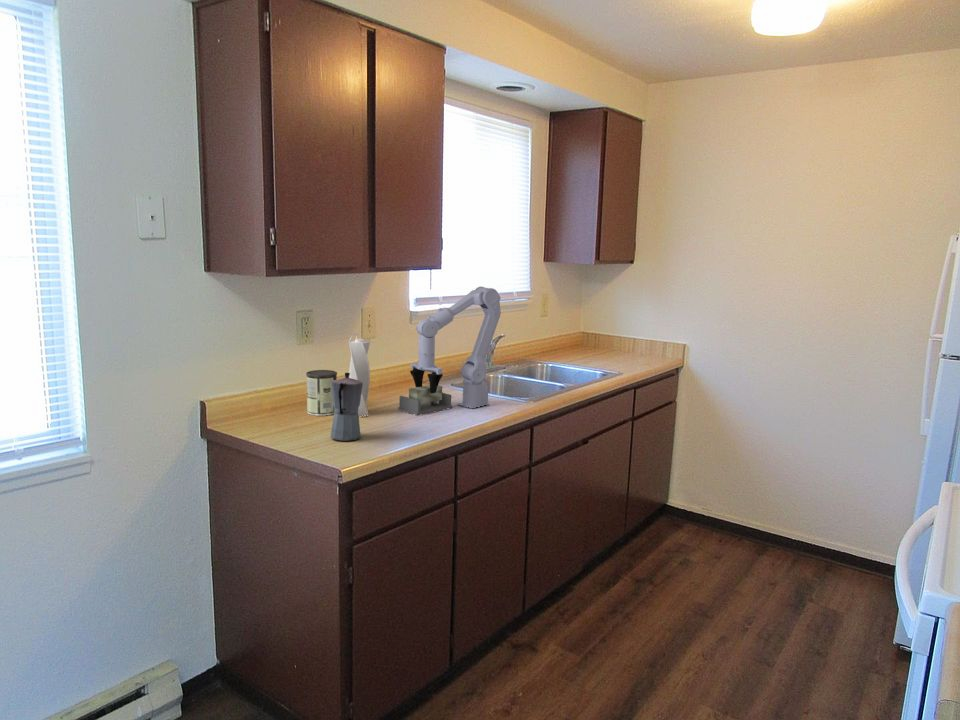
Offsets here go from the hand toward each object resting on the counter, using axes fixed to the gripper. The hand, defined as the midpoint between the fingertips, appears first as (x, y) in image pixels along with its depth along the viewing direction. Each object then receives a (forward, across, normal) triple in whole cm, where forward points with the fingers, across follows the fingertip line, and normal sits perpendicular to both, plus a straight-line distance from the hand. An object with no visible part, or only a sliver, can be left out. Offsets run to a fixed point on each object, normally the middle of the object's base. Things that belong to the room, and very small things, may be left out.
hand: (426, 391), depth 239 cm
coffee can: (+7, -19, -31) cm, 37 cm away
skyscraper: (+7, -9, -23) cm, 26 cm away
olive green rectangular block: (+4, 0, 0) cm, 4 cm away
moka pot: (+7, +12, -43) cm, 45 cm away
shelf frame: (+7, 0, 0) cm, 7 cm away
